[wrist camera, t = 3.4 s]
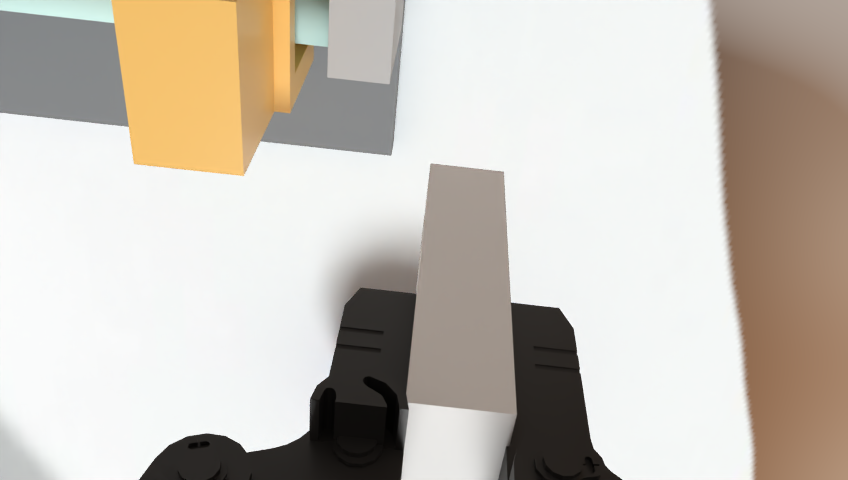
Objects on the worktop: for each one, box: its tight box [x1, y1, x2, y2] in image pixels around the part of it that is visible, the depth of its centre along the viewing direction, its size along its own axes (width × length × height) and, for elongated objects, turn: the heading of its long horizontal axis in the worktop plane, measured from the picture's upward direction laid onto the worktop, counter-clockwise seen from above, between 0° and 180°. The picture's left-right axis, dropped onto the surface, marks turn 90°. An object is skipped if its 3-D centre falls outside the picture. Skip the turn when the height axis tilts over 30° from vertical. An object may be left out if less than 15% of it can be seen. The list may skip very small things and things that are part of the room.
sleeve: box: [111, 0, 314, 176], centre depth 23 cm, size 5×4×8 cm
